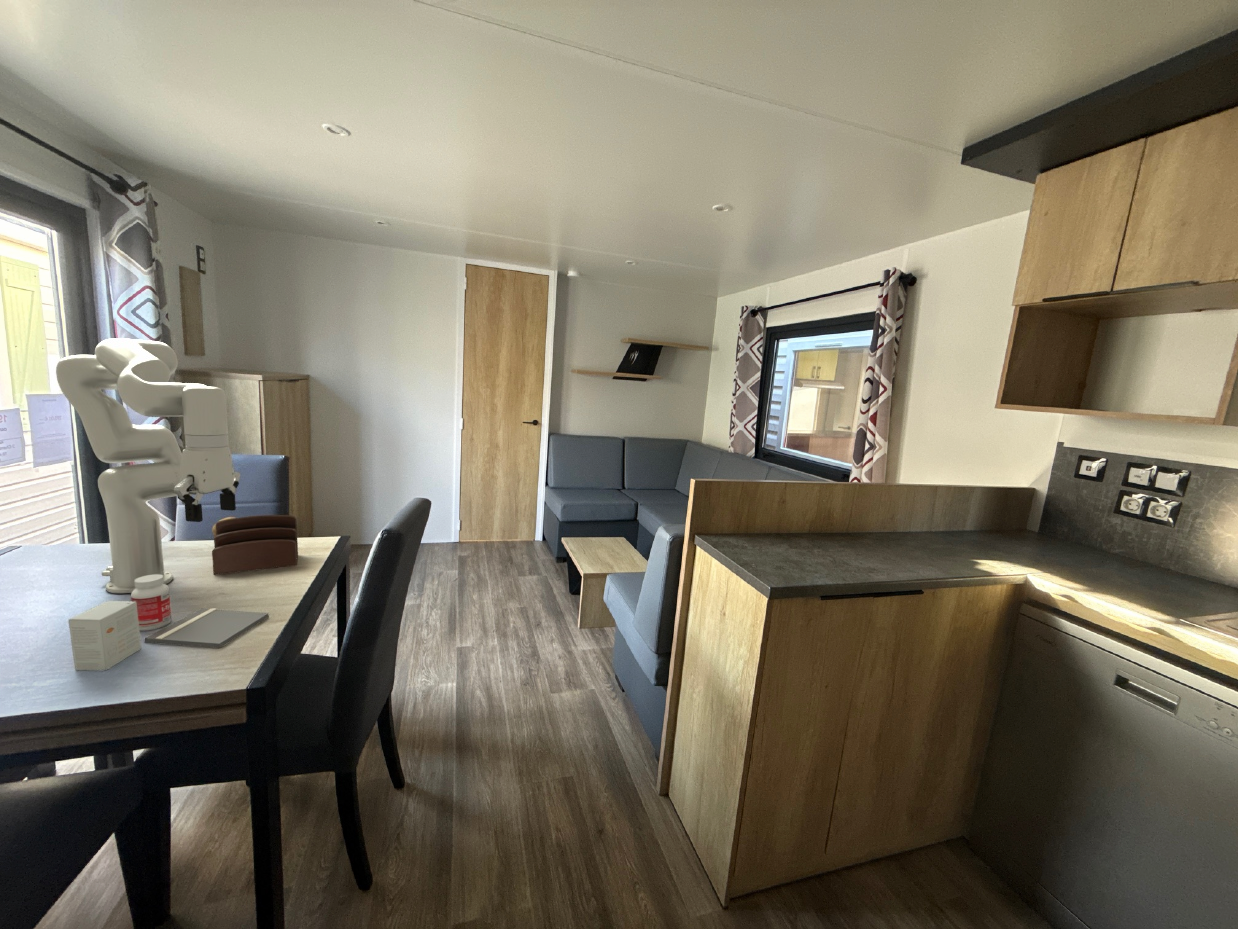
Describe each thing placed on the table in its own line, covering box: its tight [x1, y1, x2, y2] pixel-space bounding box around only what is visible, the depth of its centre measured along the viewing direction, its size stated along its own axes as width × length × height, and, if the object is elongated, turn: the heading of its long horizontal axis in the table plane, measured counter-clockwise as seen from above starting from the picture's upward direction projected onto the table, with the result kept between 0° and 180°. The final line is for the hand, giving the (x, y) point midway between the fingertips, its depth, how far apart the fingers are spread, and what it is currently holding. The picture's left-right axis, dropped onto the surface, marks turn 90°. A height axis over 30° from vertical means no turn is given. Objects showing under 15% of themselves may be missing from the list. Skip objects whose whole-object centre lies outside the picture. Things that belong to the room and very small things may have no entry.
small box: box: [67, 600, 142, 671], centre depth 96 cm, size 8×6×10 cm
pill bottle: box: [130, 574, 172, 632], centre depth 109 cm, size 6×6×11 cm
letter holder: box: [211, 514, 299, 576], centre depth 146 cm, size 10×20×14 cm, turn 122°
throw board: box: [143, 607, 270, 649], centre depth 110 cm, size 16×14×1 cm
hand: (212, 515), depth 113 cm, fingers open, 9 cm apart
